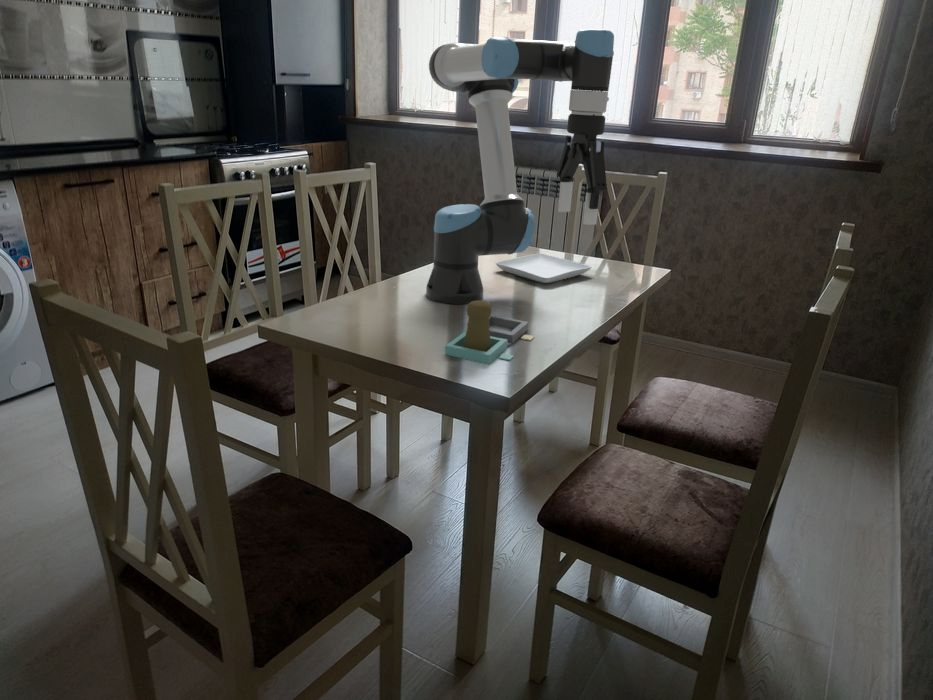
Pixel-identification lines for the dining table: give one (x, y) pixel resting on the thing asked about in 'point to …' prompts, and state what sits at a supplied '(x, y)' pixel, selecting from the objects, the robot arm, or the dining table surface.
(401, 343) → the dining table surface
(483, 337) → the cork
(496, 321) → the panel
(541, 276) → the salad plate
